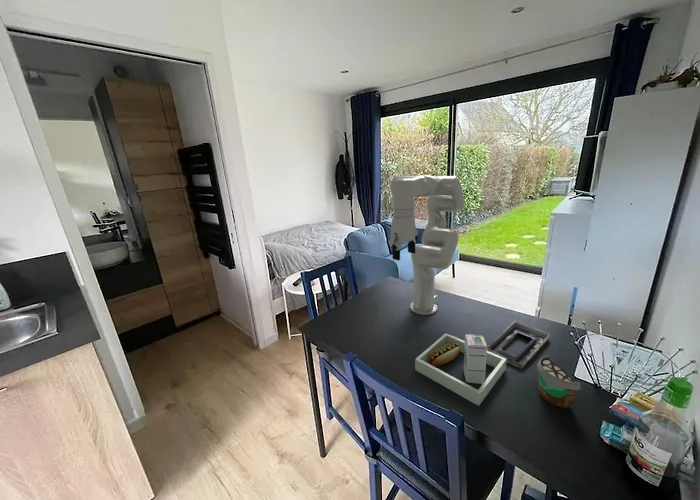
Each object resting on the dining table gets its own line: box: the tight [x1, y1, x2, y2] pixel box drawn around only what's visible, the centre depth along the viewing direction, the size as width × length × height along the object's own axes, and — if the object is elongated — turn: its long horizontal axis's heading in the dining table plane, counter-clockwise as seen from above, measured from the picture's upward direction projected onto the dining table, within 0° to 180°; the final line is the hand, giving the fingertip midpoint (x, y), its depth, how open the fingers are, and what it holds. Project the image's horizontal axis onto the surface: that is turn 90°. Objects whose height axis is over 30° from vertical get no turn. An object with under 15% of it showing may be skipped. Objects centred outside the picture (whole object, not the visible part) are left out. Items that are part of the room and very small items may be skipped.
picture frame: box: [487, 320, 550, 369], centre depth 107 cm, size 13×25×3 cm, turn 130°
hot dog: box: [428, 343, 461, 367], centre depth 102 cm, size 5×13×5 cm, turn 120°
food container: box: [536, 354, 581, 409], centre depth 84 cm, size 12×6×10 cm, turn 5°
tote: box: [414, 333, 507, 407], centre depth 97 cm, size 20×22×4 cm
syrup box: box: [462, 333, 488, 385], centre depth 92 cm, size 6×6×14 cm
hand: (404, 256), depth 112 cm, fingers open, 9 cm apart
